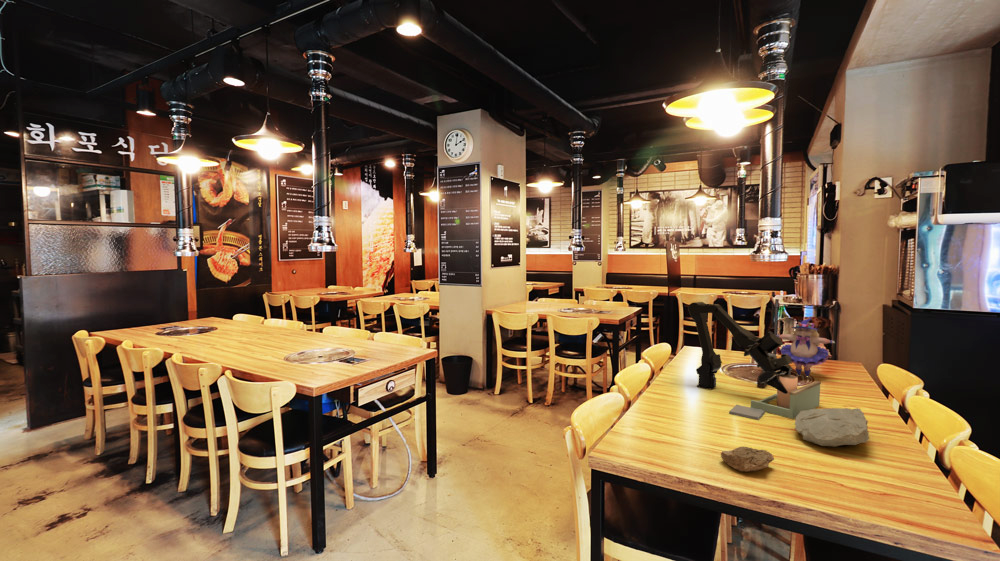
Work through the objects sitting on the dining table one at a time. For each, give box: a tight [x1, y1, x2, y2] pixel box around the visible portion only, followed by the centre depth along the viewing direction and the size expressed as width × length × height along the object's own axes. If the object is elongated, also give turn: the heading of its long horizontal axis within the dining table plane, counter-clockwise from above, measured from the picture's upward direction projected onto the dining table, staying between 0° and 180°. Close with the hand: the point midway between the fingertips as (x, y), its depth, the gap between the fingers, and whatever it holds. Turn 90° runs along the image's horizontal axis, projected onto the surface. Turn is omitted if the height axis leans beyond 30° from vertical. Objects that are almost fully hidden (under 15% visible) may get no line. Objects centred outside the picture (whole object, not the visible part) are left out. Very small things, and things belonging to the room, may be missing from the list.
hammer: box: [756, 352, 778, 389], centre depth 220 cm, size 5×11×30 cm
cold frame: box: [750, 380, 822, 420], centre depth 184 cm, size 15×25×10 cm, turn 126°
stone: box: [794, 407, 870, 447], centre depth 154 cm, size 33×9×20 cm
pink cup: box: [775, 374, 799, 409], centre depth 183 cm, size 7×7×12 cm
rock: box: [720, 446, 775, 473], centre depth 132 cm, size 13×11×5 cm
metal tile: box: [728, 404, 766, 421], centre depth 176 cm, size 10×10×1 cm
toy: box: [775, 317, 836, 377], centre depth 227 cm, size 25×21×30 cm
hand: (790, 391), depth 182 cm, fingers closed on pink cup, 7 cm apart
